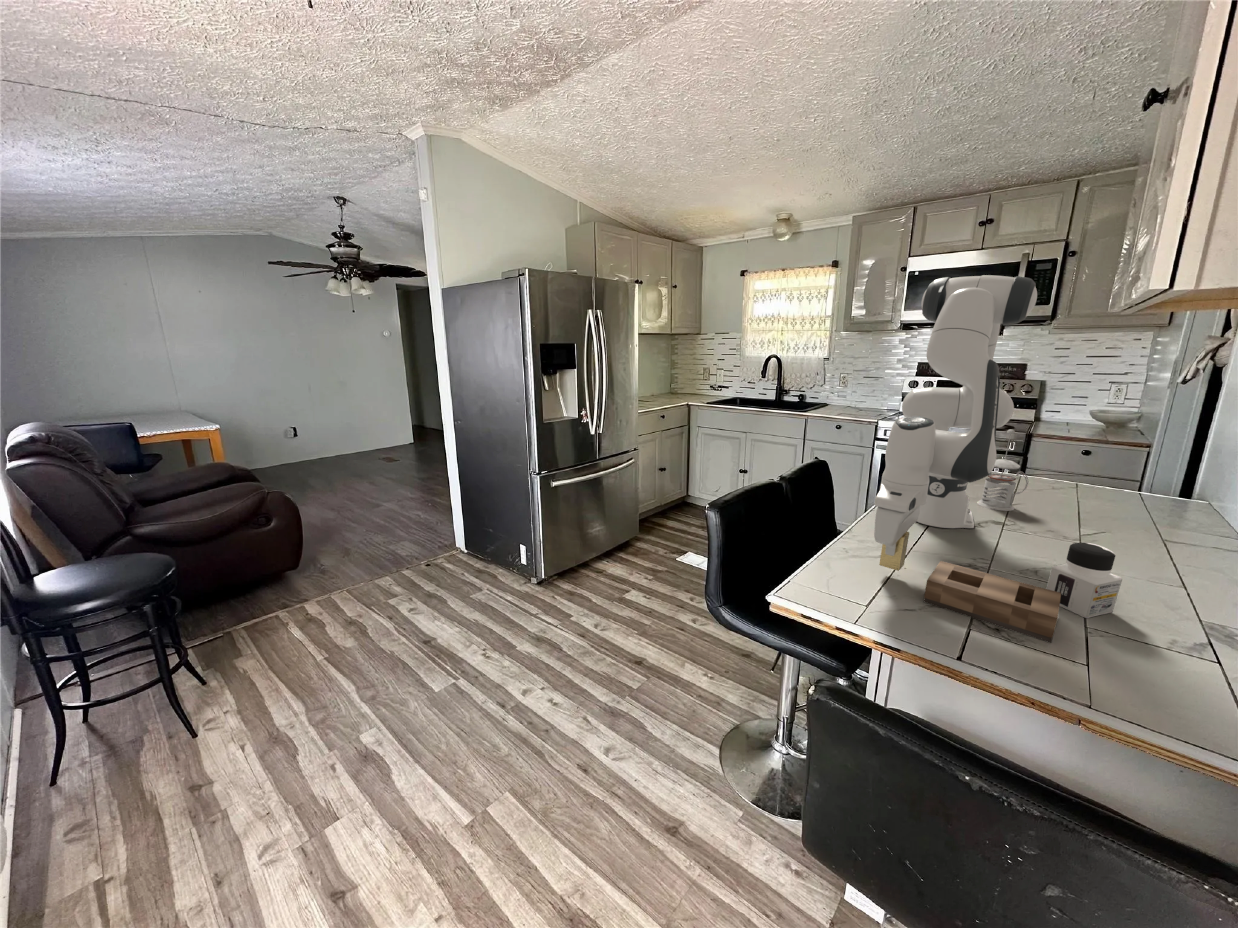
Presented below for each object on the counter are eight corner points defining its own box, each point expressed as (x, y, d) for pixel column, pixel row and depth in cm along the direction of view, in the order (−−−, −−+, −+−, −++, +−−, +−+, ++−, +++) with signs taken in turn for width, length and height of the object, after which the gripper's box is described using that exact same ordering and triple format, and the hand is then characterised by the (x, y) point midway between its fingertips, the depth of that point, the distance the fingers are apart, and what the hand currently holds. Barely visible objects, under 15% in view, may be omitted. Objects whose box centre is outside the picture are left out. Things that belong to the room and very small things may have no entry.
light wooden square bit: (884, 559, 113) (889, 527, 110) (904, 564, 110) (909, 532, 108) (879, 565, 110) (884, 532, 108) (898, 570, 107) (904, 537, 105)
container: (1086, 619, 94) (1103, 557, 90) (1042, 598, 101) (1057, 541, 98) (1113, 612, 96) (1131, 552, 92) (1068, 593, 103) (1083, 536, 100)
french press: (981, 498, 163) (996, 425, 157) (1025, 507, 154) (1043, 430, 148) (972, 504, 157) (987, 429, 151) (1017, 514, 148) (1035, 434, 142)
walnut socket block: (936, 581, 108) (940, 560, 107) (1055, 615, 95) (1061, 592, 93) (923, 601, 100) (927, 579, 98) (1051, 642, 86) (1057, 618, 85)
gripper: (901, 478, 114) (892, 532, 118) (872, 500, 100) (863, 560, 104) (931, 484, 110) (922, 539, 114) (906, 507, 96) (896, 570, 100)
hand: (894, 550), depth 109 cm, fingers closed on light wooden square bit, 4 cm apart
